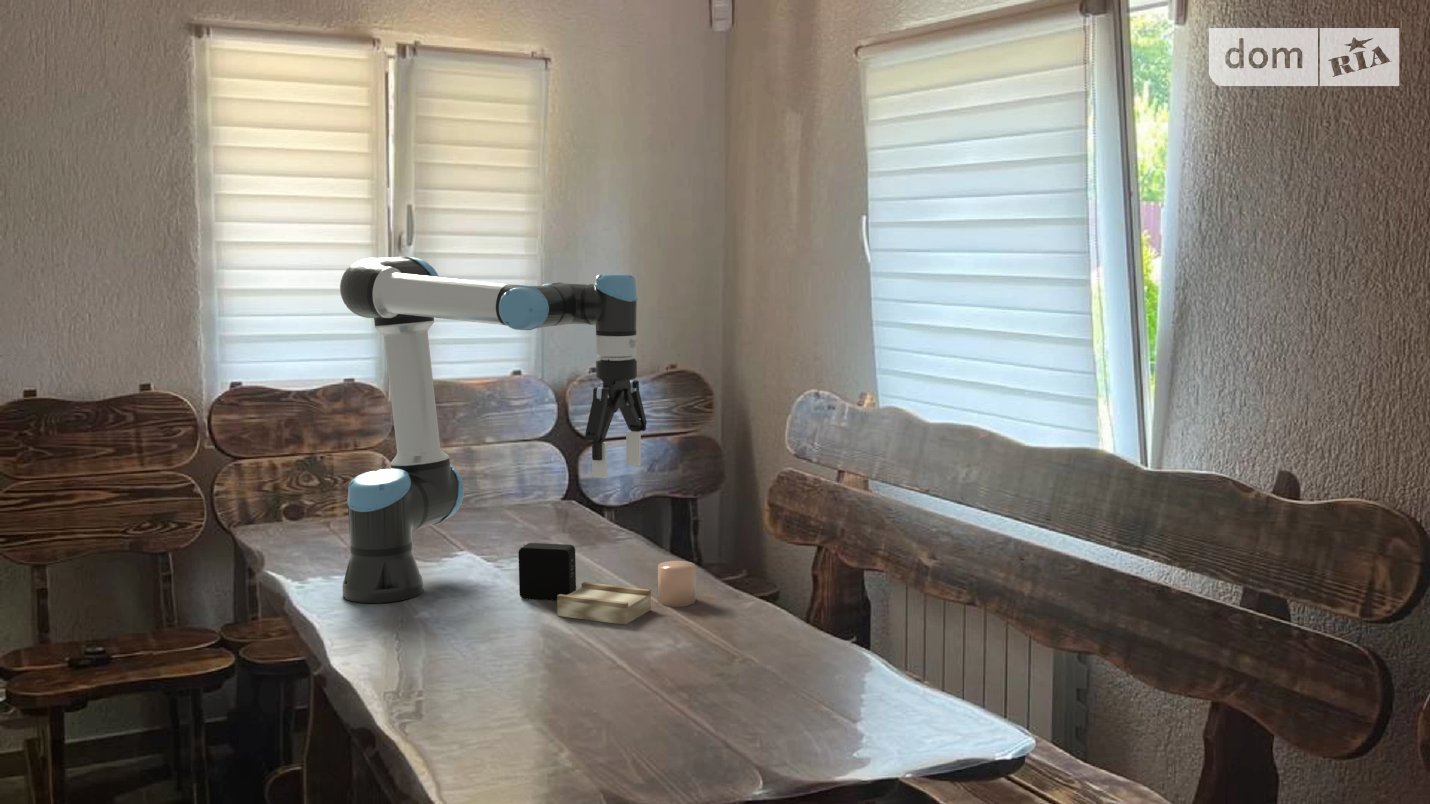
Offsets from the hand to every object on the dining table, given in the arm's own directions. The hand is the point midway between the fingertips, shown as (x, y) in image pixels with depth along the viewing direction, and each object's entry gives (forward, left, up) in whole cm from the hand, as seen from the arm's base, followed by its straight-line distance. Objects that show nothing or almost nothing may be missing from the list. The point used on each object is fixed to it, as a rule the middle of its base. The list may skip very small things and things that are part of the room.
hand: (616, 471), depth 244 cm
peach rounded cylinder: (+10, +4, -25) cm, 27 cm away
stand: (+1, -8, -25) cm, 26 cm away
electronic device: (-14, -3, -25) cm, 29 cm away
